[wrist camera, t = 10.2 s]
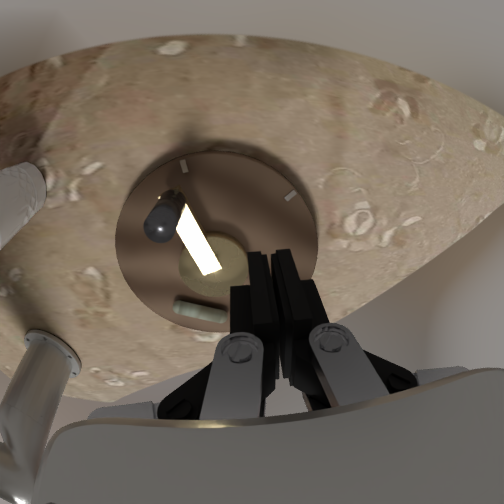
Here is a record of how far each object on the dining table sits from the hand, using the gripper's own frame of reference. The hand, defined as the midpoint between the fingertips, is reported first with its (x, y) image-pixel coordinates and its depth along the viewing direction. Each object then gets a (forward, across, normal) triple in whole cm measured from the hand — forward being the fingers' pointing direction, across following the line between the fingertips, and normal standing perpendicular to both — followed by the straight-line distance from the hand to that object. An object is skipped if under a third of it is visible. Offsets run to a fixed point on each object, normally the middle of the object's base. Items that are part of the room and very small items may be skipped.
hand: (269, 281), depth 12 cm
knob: (+16, +5, +6) cm, 18 cm away
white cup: (+19, +27, -2) cm, 33 cm away
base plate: (+19, +4, +9) cm, 21 cm away
